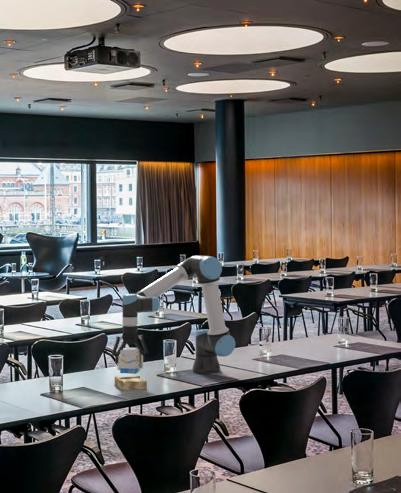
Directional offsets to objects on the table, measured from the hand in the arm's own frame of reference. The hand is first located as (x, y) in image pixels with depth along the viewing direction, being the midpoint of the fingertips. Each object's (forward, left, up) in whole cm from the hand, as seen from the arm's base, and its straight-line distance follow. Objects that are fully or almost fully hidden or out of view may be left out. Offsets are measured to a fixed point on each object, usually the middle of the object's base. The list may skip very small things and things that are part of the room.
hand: (130, 368), depth 448 cm
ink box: (0, 0, -2) cm, 2 cm away
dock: (0, 0, -9) cm, 9 cm away
